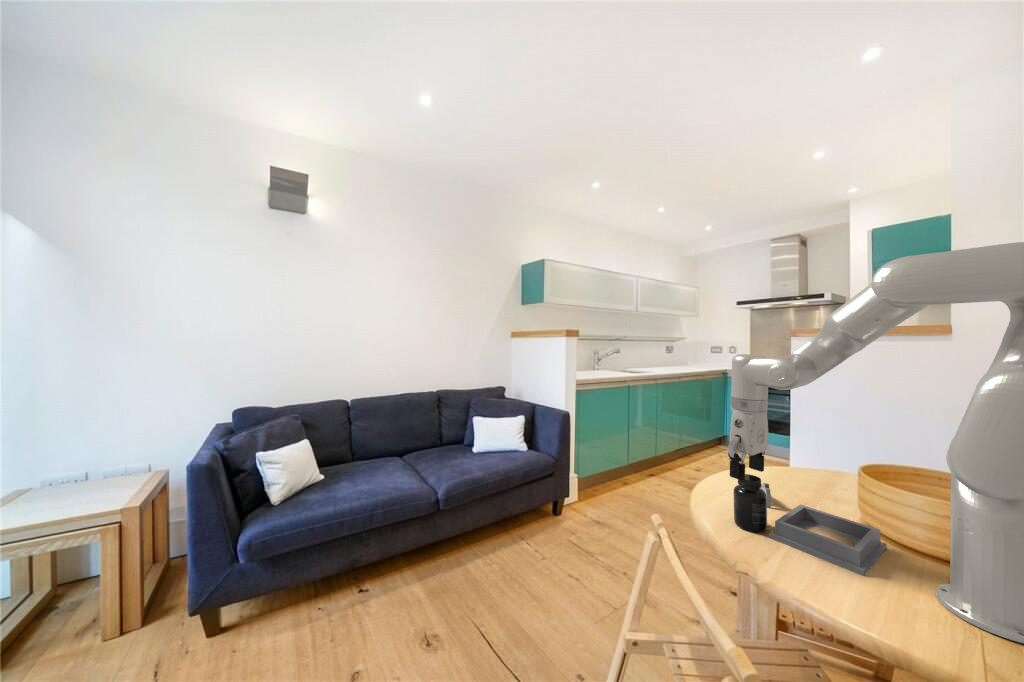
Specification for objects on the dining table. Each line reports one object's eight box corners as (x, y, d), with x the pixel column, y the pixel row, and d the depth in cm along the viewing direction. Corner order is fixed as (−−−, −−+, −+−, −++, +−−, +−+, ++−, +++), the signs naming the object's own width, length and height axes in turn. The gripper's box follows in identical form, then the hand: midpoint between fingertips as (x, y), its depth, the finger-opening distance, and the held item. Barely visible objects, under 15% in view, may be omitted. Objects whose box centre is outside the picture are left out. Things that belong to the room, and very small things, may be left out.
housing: (886, 548, 79) (886, 530, 79) (864, 575, 70) (864, 555, 70) (797, 517, 92) (797, 502, 92) (769, 537, 84) (769, 520, 84)
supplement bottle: (766, 523, 90) (766, 475, 90) (768, 536, 84) (767, 485, 84) (733, 516, 94) (733, 470, 93) (733, 528, 88) (733, 479, 88)
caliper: (771, 509, 98) (771, 486, 98) (766, 508, 98) (766, 485, 98) (746, 480, 117) (746, 460, 117) (742, 479, 118) (742, 460, 117)
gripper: (748, 412, 81) (746, 488, 81) (781, 403, 90) (779, 471, 91) (714, 406, 87) (712, 476, 88) (748, 398, 96) (747, 462, 97)
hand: (746, 474), depth 89 cm, fingers open, 9 cm apart
